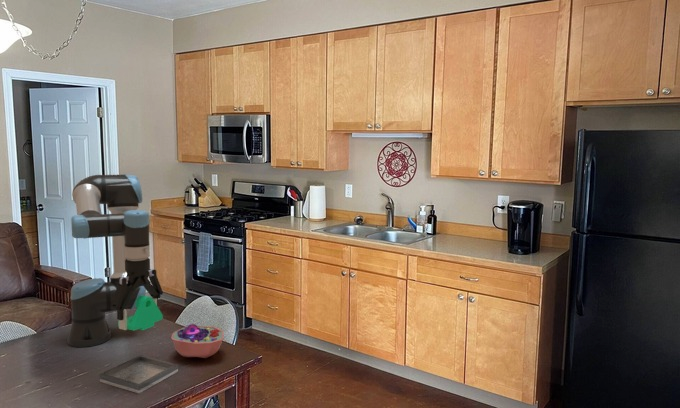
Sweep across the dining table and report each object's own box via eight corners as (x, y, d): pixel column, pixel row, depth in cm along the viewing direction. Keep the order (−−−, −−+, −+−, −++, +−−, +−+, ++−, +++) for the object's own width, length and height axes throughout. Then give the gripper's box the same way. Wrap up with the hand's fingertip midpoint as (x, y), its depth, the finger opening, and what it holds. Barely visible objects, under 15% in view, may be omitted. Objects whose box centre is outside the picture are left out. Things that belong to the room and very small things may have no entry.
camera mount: (146, 318, 169) (145, 289, 168) (162, 322, 166) (162, 292, 165) (116, 329, 158) (115, 298, 157) (133, 334, 155) (133, 302, 154)
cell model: (201, 371, 170) (201, 339, 168) (161, 357, 179) (160, 327, 178) (235, 353, 184) (235, 324, 183) (195, 342, 194) (195, 314, 193)
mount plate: (99, 381, 160) (99, 374, 160) (140, 361, 175) (140, 354, 175) (139, 393, 153) (138, 385, 153) (177, 371, 168) (177, 364, 168)
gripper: (114, 267, 147) (116, 337, 150) (173, 252, 169) (174, 313, 172) (97, 264, 150) (99, 332, 153) (156, 250, 172) (157, 310, 175)
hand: (138, 322), depth 162 cm, fingers closed on camera mount, 12 cm apart
